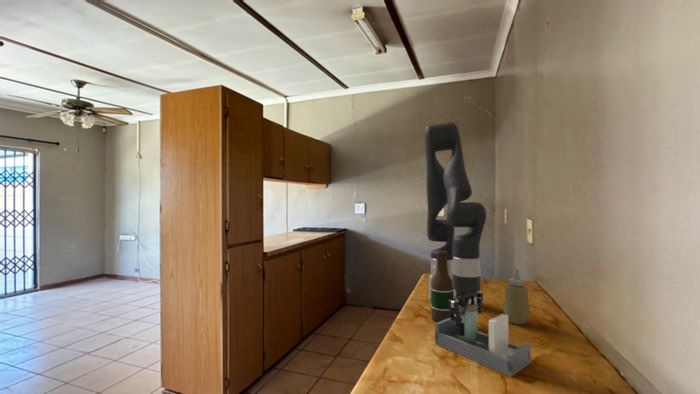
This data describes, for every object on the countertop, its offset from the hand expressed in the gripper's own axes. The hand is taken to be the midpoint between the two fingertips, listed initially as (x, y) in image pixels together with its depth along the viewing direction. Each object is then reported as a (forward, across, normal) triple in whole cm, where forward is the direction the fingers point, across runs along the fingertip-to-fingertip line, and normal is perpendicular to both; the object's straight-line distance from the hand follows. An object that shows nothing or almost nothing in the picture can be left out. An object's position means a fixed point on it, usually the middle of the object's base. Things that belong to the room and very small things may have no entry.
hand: (466, 332), depth 92 cm
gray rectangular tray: (+4, 0, -4) cm, 6 cm away
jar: (+2, 0, 0) cm, 2 cm away
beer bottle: (+5, +12, +17) cm, 21 cm away
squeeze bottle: (+5, +30, 0) cm, 30 cm away
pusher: (+3, 0, -11) cm, 11 cm away
